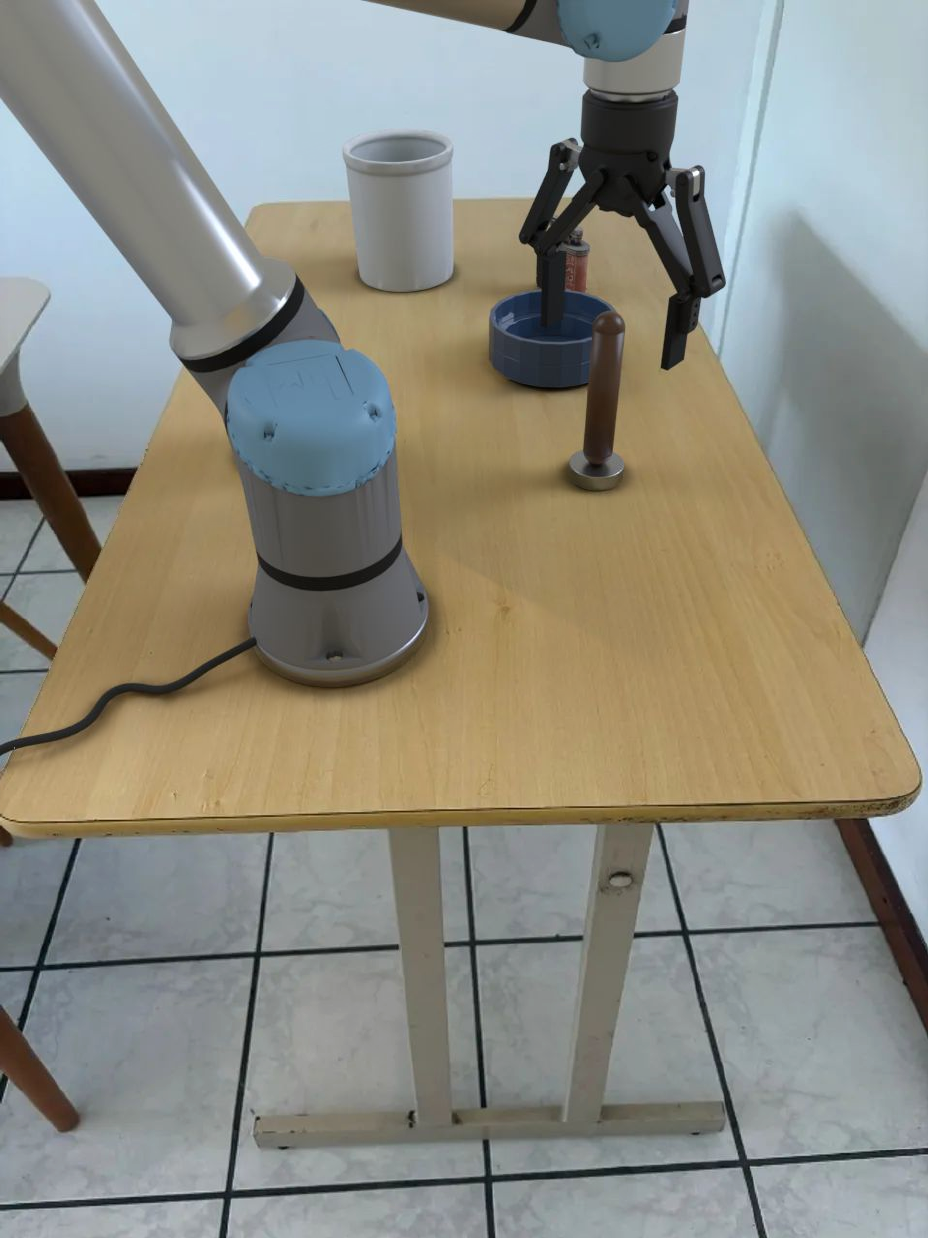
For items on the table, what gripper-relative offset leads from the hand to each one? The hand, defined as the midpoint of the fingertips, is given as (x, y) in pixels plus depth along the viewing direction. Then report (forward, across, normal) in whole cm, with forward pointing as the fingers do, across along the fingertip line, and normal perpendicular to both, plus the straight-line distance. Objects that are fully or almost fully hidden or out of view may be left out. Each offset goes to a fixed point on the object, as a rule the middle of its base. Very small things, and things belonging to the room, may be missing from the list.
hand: (609, 342), depth 89 cm
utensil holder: (+15, +52, -25) cm, 60 cm away
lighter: (+15, +30, -34) cm, 48 cm away
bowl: (+15, +19, -17) cm, 29 cm away
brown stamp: (+15, 0, 0) cm, 15 cm away
